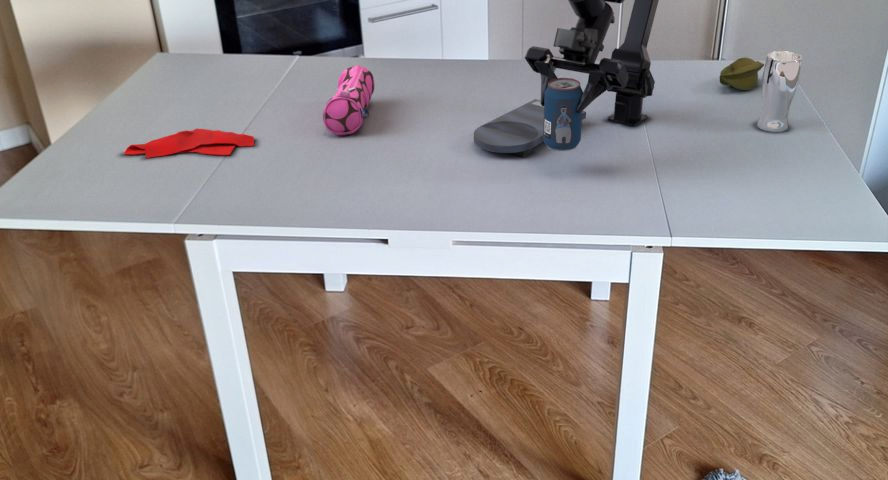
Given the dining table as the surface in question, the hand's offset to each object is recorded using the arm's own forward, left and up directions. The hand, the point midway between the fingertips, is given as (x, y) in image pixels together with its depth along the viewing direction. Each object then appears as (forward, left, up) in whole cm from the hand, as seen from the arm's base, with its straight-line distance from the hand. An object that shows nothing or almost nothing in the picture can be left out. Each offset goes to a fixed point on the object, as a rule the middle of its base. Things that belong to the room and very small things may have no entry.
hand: (559, 108), depth 163 cm
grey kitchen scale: (-12, -16, -13) cm, 24 cm away
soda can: (-1, 0, -8) cm, 8 cm away
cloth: (+32, -69, -13) cm, 77 cm away
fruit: (-66, +6, -13) cm, 67 cm away
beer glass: (-47, +22, -13) cm, 54 cm away
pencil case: (+2, -52, -13) cm, 53 cm away
